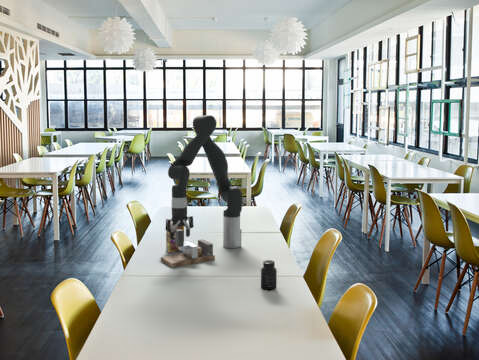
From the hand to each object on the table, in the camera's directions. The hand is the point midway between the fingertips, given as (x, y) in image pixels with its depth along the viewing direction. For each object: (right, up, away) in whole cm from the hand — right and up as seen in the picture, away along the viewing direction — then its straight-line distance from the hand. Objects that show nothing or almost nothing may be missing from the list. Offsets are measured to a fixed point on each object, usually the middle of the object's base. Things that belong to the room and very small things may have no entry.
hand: (179, 237), depth 255 cm
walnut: (+8, -9, +7) cm, 14 cm away
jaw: (+2, -10, +3) cm, 10 cm away
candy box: (-5, -9, +20) cm, 23 cm away
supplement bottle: (+42, -18, -32) cm, 56 cm away
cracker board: (+4, -12, +5) cm, 13 cm away
